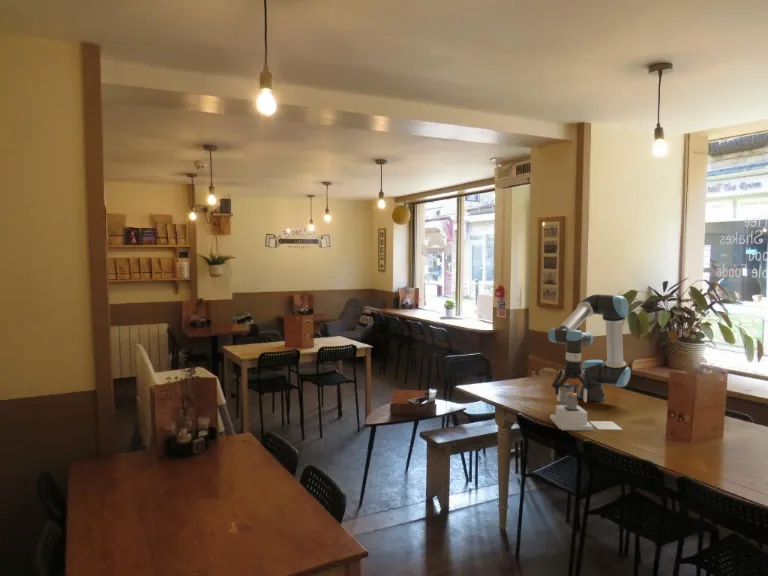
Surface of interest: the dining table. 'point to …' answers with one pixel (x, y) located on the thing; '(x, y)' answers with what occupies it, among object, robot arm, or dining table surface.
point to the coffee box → (568, 388)
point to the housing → (571, 419)
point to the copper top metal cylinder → (571, 401)
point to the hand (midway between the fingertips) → (571, 401)
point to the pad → (605, 425)
